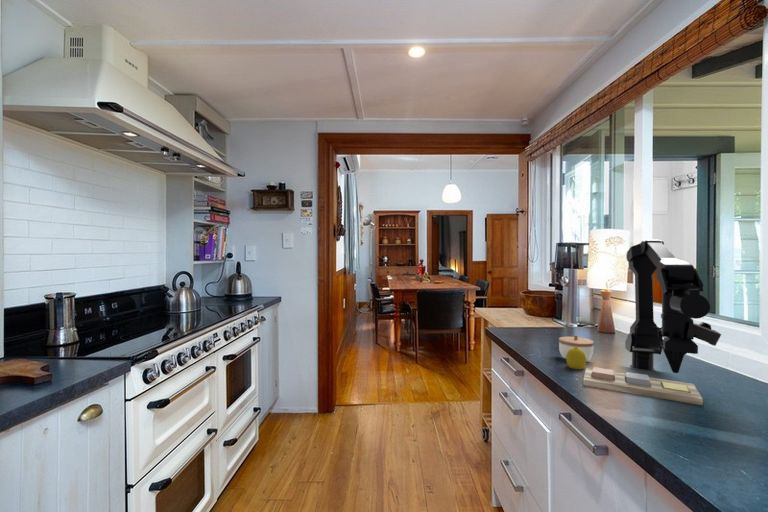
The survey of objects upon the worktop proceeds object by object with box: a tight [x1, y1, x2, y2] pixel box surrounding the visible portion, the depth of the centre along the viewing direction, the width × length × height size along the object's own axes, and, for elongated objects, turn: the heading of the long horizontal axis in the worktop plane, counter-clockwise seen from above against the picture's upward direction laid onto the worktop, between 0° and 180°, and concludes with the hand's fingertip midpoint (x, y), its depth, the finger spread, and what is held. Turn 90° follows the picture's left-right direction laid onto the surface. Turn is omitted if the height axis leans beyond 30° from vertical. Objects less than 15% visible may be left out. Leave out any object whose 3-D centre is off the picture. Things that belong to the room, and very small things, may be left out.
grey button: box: [625, 371, 650, 387], centre depth 99 cm, size 5×5×3 cm
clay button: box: [592, 366, 615, 381], centre depth 103 cm, size 5×5×3 cm
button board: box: [582, 367, 704, 406], centre depth 99 cm, size 12×25×3 cm, turn 58°
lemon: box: [565, 347, 587, 370], centre depth 116 cm, size 6×6×8 cm
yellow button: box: [662, 382, 689, 393], centre depth 95 cm, size 5×5×3 cm
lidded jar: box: [558, 334, 595, 362], centre depth 127 cm, size 11×11×9 cm
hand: (675, 372), depth 94 cm, fingers closed
